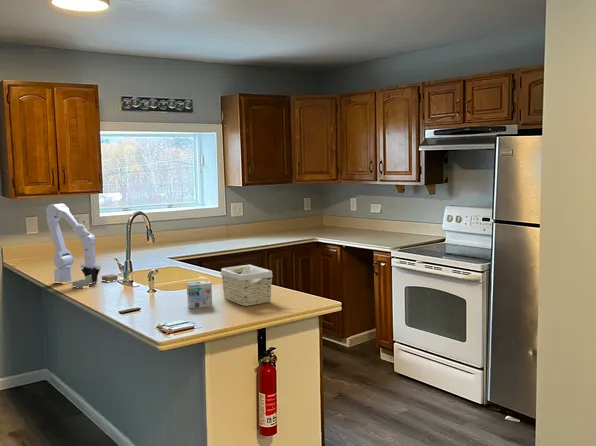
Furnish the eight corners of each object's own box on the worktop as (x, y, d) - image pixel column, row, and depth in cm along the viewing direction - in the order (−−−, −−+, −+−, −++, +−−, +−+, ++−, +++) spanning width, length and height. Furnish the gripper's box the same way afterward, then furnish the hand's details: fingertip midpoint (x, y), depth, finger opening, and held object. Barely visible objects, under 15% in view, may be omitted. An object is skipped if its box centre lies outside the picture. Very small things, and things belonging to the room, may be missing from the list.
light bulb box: (188, 309, 258) (187, 284, 257) (187, 305, 265) (186, 282, 263) (213, 306, 261) (211, 282, 260) (210, 303, 268) (209, 280, 266)
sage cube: (85, 284, 319) (85, 276, 319) (92, 282, 323) (91, 274, 323) (90, 285, 317) (90, 276, 316) (97, 283, 321) (97, 275, 320)
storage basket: (220, 298, 277) (219, 267, 275) (251, 293, 285) (250, 263, 284) (242, 308, 257) (241, 275, 255) (275, 302, 265) (273, 270, 263)
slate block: (72, 288, 310) (72, 281, 310) (82, 286, 315) (81, 279, 315) (79, 288, 307) (79, 281, 306) (89, 286, 312) (88, 279, 311)
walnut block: (102, 282, 325) (101, 276, 324) (111, 280, 329) (110, 274, 329) (108, 283, 321) (108, 277, 321) (117, 281, 326) (117, 275, 325)
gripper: (104, 256, 318) (106, 281, 319) (87, 254, 326) (89, 278, 327) (93, 258, 312) (95, 283, 313) (76, 256, 320) (78, 281, 321)
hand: (91, 281), depth 320 cm, fingers closed on sage cube, 4 cm apart
